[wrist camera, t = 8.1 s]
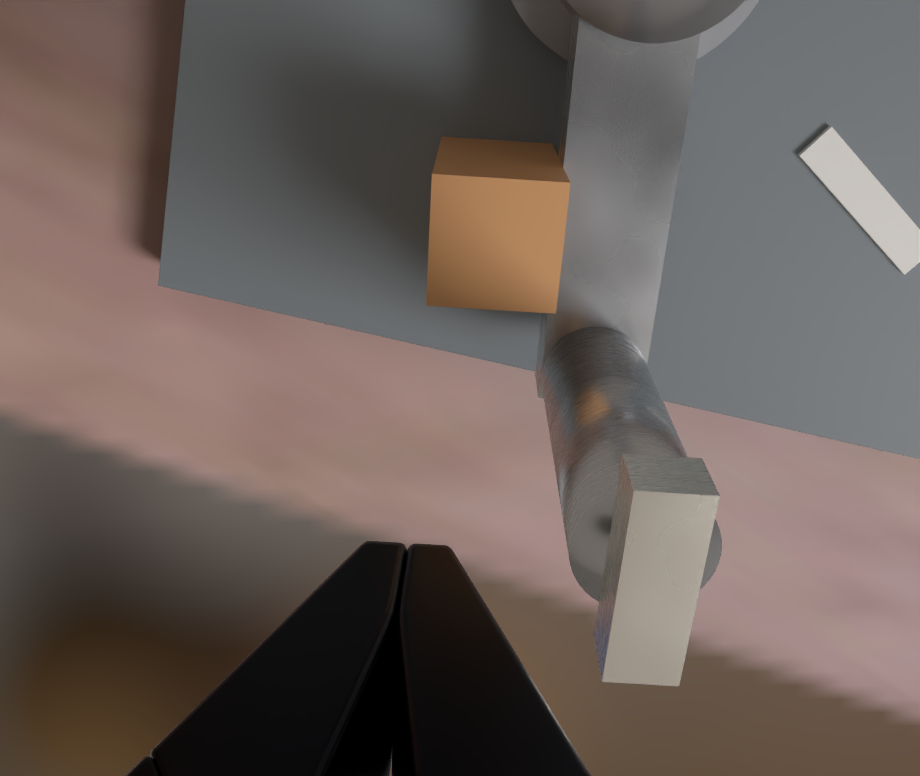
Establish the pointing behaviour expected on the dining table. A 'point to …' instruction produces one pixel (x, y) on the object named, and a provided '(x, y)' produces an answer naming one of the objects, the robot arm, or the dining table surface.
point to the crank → (625, 336)
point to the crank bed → (736, 219)
